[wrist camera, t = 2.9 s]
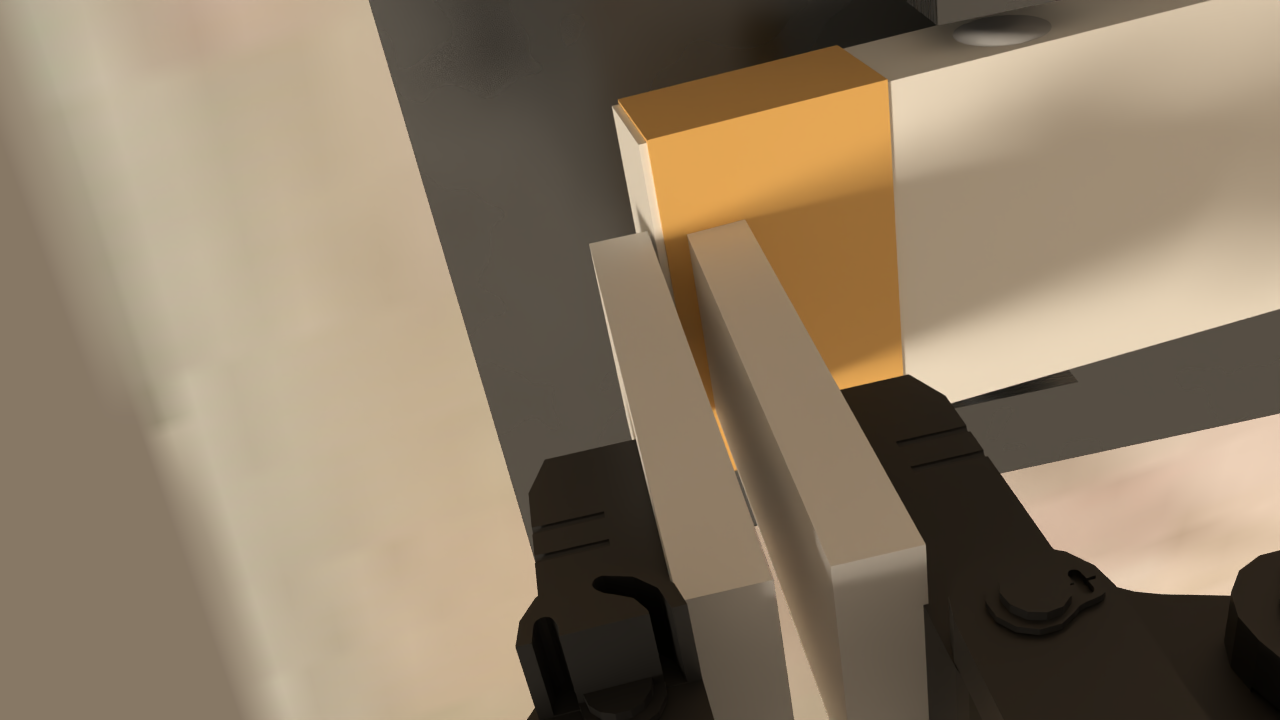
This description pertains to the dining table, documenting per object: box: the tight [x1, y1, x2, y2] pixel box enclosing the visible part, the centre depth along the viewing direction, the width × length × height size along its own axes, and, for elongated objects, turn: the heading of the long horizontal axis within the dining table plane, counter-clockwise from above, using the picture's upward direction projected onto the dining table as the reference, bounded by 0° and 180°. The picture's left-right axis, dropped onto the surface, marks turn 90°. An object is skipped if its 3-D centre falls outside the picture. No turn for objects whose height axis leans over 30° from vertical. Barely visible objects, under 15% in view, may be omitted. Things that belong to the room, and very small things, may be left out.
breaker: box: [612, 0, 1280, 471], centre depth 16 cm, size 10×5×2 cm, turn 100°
